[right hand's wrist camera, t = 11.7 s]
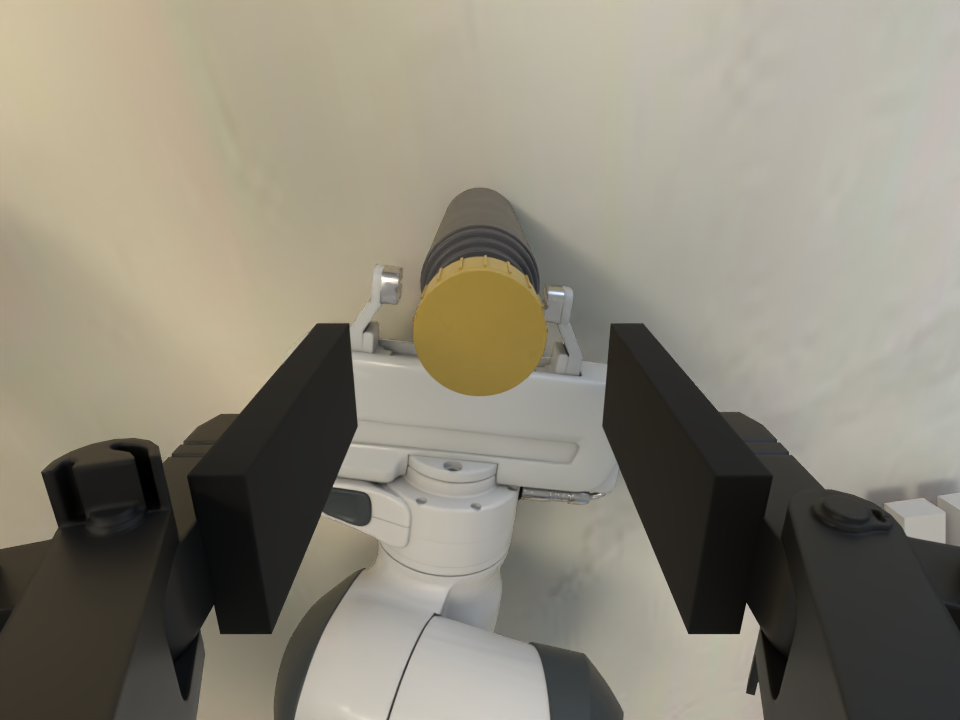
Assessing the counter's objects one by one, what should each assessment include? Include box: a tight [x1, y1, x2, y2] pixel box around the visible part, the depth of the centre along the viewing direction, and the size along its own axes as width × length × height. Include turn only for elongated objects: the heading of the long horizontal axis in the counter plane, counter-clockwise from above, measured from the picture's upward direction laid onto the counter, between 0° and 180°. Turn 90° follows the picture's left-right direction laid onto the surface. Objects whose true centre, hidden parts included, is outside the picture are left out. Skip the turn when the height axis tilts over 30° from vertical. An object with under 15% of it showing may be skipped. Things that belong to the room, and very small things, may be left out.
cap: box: [413, 255, 547, 396], centre depth 18 cm, size 4×4×2 cm
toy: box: [884, 493, 960, 546], centre depth 45 cm, size 12×13×30 cm
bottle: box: [421, 188, 540, 294], centre depth 27 cm, size 5×5×22 cm
